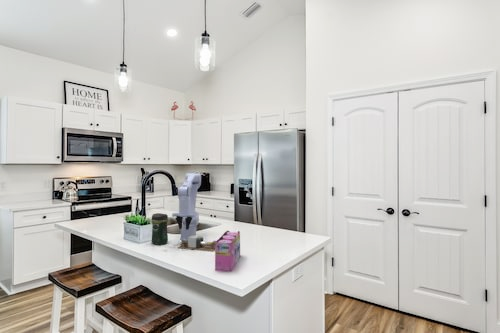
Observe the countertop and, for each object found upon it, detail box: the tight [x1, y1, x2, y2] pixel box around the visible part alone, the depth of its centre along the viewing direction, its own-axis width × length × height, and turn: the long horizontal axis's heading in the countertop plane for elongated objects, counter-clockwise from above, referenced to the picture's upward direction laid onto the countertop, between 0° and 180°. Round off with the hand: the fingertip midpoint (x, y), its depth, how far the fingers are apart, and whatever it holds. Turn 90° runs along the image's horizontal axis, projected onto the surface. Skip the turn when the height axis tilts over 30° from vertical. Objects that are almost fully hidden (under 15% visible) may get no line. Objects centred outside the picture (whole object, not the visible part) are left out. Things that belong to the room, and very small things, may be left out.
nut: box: [197, 237, 204, 248], centre depth 170 cm, size 2×5×5 cm, turn 166°
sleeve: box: [188, 235, 201, 248], centre depth 171 cm, size 5×5×6 cm
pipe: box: [181, 240, 213, 246], centre depth 170 cm, size 21×2×2 cm, turn 76°
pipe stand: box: [177, 240, 217, 252], centre depth 170 cm, size 22×9×4 cm, turn 76°
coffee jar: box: [151, 212, 169, 246], centre depth 179 cm, size 10×8×19 cm
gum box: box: [214, 230, 241, 272], centre depth 146 cm, size 24×8×14 cm, turn 170°
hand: (184, 229), depth 173 cm, fingers open, 4 cm apart
